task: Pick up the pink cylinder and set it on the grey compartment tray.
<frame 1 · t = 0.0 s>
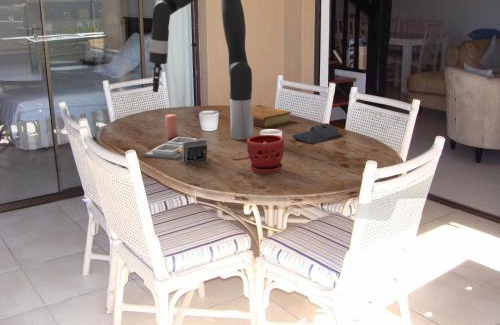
hand: (155, 90, 241), 22 cm above the table, tool pointing down, fingers open, 8 cm apart
dark slate chunk: (316, 138, 251), on the table
electrical switch: (196, 163, 217), on the table
diary: (260, 122, 281), on the table
grey compartment tray: (175, 149, 234), on the table
plant pot: (265, 170, 207), on the table
pink cylinder: (172, 137, 253), on the table
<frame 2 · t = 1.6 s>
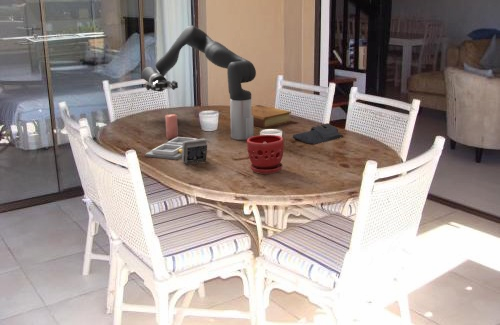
hand: (164, 88, 257), 20 cm above the table, tool horizontal, fingers open, 8 cm apart
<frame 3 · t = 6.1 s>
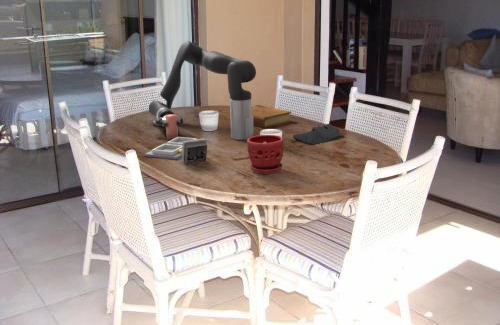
hand: (172, 124, 249), 7 cm above the table, tool horizontal, fingers closed on pink cylinder, 5 cm apart
pink cylinder: (172, 137, 253), on the table, touching gripper
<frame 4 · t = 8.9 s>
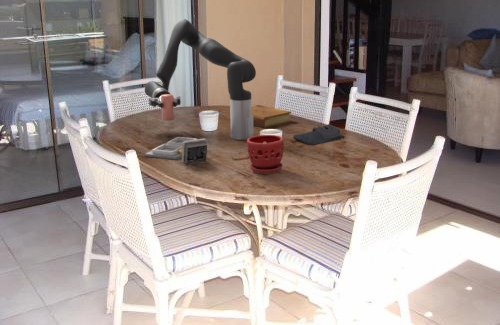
hand: (168, 104, 233), 18 cm above the table, tool horizontal, fingers closed on pink cylinder, 5 cm apart
pink cylinder: (168, 119, 237), point 11 cm above the table, touching gripper
when the fingers open (9 cm above the table, at t = 11.8 s): pink cylinder drops 1 cm, resting on grey compartment tray.
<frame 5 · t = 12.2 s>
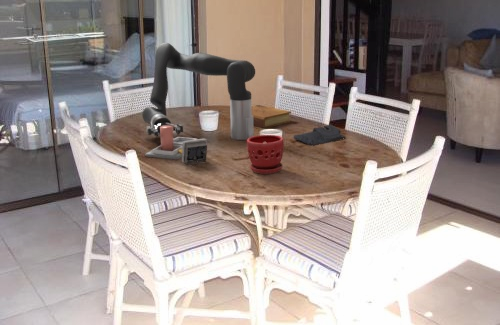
hand: (167, 133, 225), 9 cm above the table, tool horizontal, fingers open, 8 cm apart
pink cylinder: (167, 151, 229), point 1 cm above the table, touching grey compartment tray
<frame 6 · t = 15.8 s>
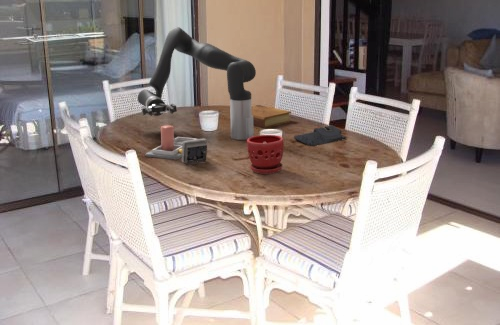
hand: (161, 112, 234), 15 cm above the table, tool horizontal, fingers open, 8 cm apart
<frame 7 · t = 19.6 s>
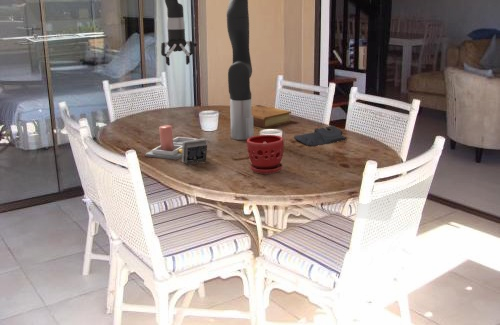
hand: (178, 64, 258), 30 cm above the table, tool pointing down, fingers open, 8 cm apart
at the end: pink cylinder 0.2 cm from the target spot on the grey compartment tray, point 1.1 cm above the grey compartment tray's base; pink cylinder tilted 2°; the gripper is holding nothing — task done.
